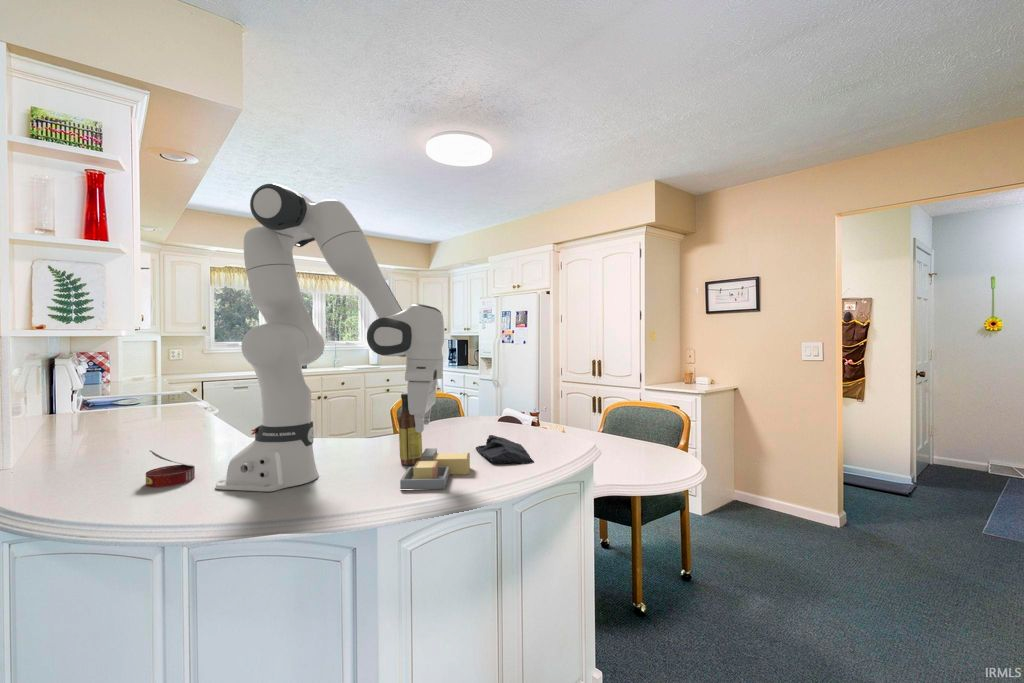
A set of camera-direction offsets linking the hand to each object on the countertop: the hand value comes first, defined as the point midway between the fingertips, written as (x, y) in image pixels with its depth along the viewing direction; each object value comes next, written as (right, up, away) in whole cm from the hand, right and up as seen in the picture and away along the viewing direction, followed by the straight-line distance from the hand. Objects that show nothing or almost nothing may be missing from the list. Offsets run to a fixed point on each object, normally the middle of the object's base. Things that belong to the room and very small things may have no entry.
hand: (422, 427), depth 111 cm
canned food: (-63, -14, +3) cm, 65 cm away
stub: (+1, -13, 0) cm, 13 cm away
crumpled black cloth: (+19, -14, +26) cm, 36 cm away
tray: (+1, -13, 0) cm, 13 cm away
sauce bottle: (-7, -14, +18) cm, 24 cm away
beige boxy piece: (+4, -13, +10) cm, 17 cm away
